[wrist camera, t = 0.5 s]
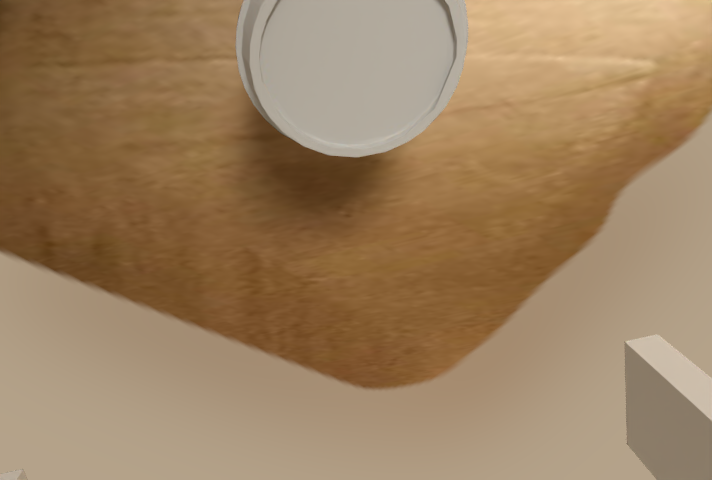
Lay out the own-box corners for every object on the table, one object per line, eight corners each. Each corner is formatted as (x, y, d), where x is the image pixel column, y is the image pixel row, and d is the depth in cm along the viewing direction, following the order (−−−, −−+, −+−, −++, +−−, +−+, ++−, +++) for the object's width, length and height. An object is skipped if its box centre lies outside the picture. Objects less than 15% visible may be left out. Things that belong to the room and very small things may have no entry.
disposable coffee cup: (318, 97, 38) (351, 205, 28) (193, -22, 33) (182, 61, 23) (441, -18, 35) (522, 59, 26) (325, -168, 30) (372, -140, 21)
